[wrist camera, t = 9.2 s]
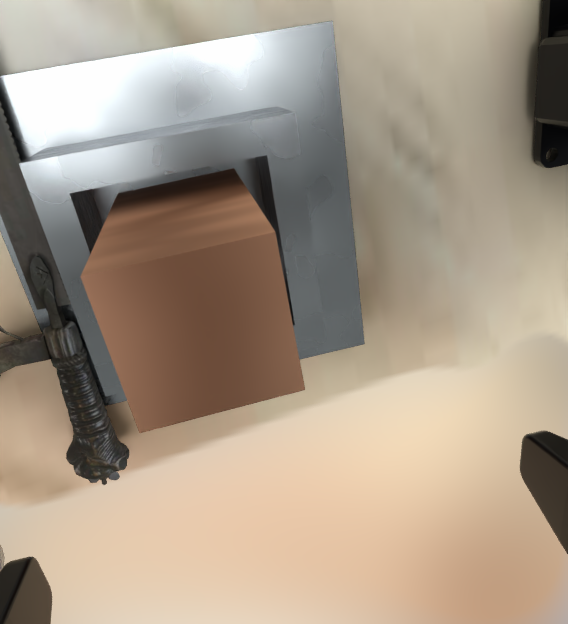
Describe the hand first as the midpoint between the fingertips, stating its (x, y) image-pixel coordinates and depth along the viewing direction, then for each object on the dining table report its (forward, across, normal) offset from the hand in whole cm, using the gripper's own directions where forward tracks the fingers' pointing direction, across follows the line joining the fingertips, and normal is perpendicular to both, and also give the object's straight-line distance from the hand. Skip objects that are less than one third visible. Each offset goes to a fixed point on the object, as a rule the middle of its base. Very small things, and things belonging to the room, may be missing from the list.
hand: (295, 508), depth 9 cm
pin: (+11, +1, -2) cm, 12 cm away
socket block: (+12, +1, -2) cm, 12 cm away
